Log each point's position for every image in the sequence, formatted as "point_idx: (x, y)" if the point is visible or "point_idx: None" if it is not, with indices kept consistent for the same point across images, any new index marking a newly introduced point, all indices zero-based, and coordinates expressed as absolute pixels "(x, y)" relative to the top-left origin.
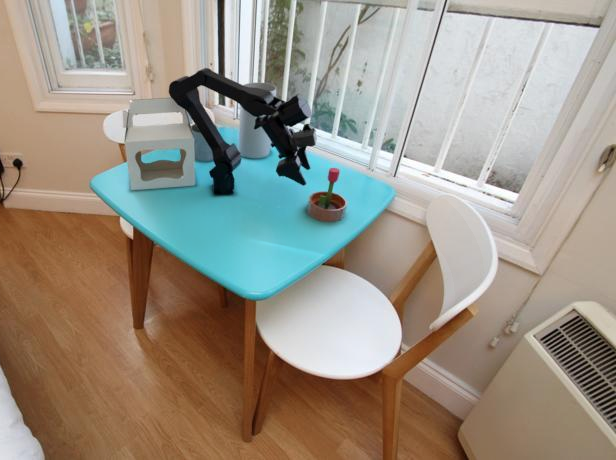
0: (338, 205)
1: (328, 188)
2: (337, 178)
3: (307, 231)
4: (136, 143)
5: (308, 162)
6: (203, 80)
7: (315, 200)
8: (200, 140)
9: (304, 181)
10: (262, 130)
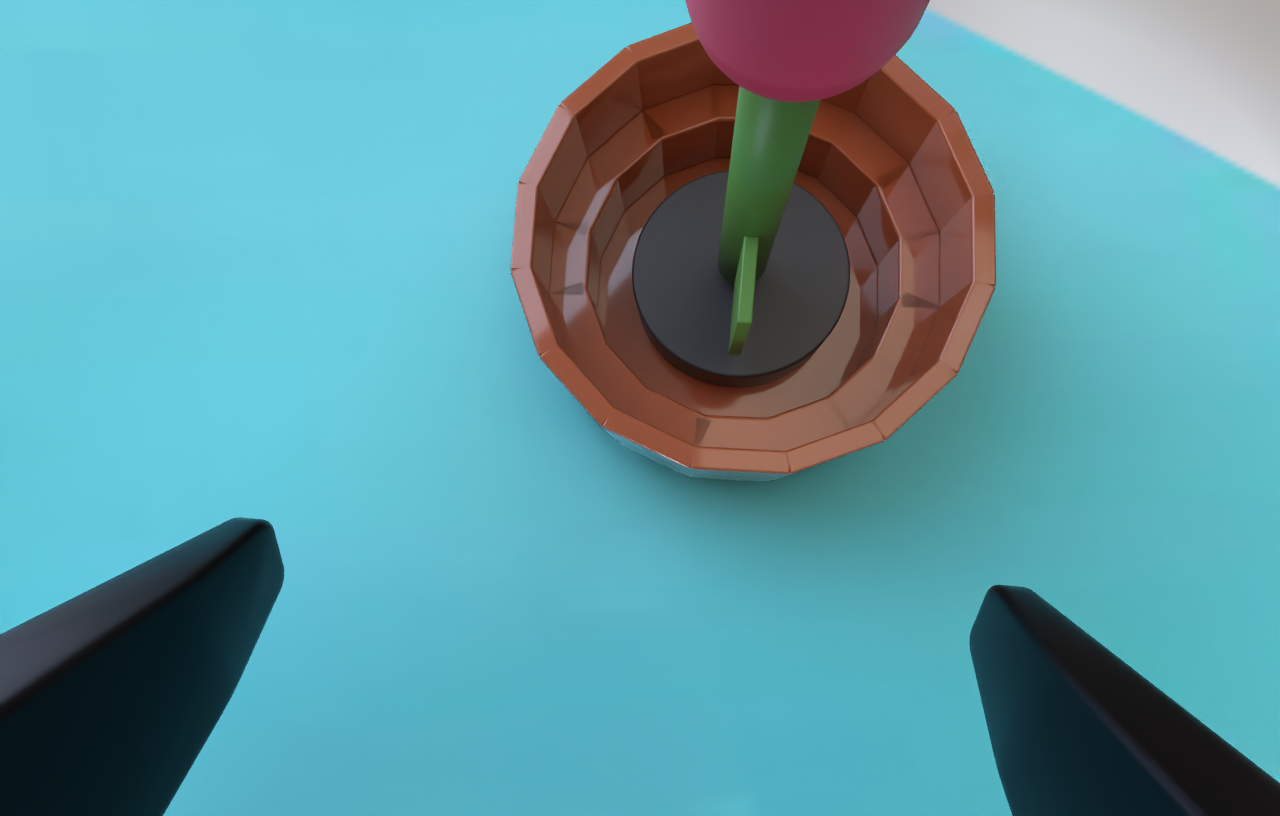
0: (668, 143)
1: (781, 165)
2: None
3: (1137, 460)
4: None
5: (110, 605)
6: None
7: (635, 393)
8: None
9: (1113, 657)
10: None
